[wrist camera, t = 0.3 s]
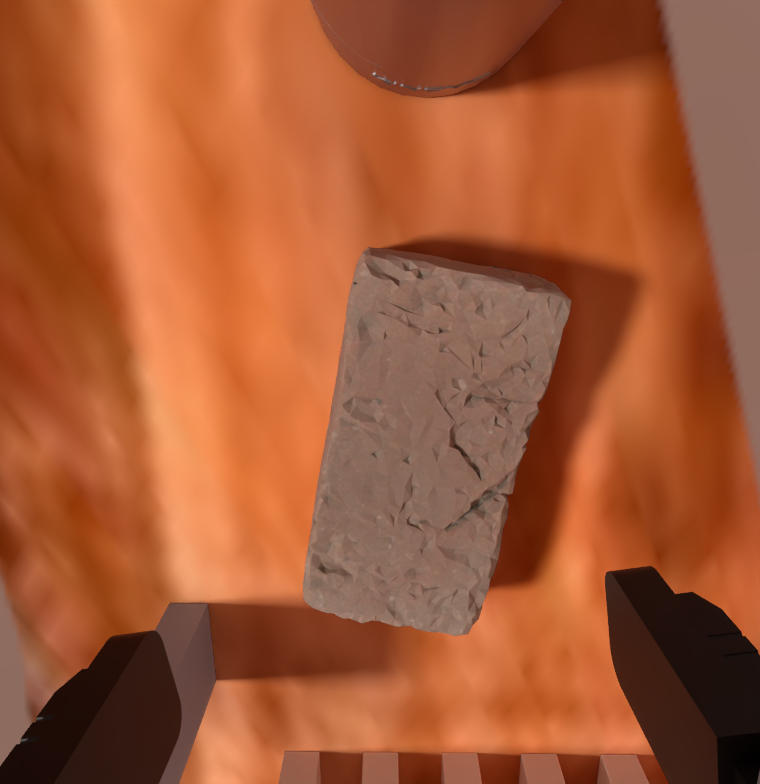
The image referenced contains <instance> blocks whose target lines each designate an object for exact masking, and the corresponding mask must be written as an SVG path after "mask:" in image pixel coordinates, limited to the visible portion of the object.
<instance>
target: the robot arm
mask: <svg viewBox="0 0 760 784" xmlns="http://www.w3.org/2000/svg"><path fill="white" fill-rule="evenodd" d="M311 1H312V4H313V6H314V9H315V11H316V13H317V16H318V18H319V21H320V23H321V25H322V28H323V30H324V32H325V34H326V35H327V37H328V38H329V40H330V41H331V43H332V44H333V46H334V48H335V49H336V51H337V52H338V54H339V55H340V56H341V57H342V58H343V59H344V60H345V61H346V62H347V63H348V64H349V65H350V66H351V67H352V68H353V69H354V70H355V71H356V72H357V73H358V74H360V75H361V76H363V77H365V78H366V79H368V80H369V81H371V82H372V83H374V84H376V85H377V86H379V87H381V88H384V89H387V90H390V91H392V92H395V93H398V94H401V95H406V96H415V97H424V98H430V97H438V96H446V95H452V94H455V93H458V92H461V91H463V90H466V89H469V88H472V87H474V86H476V85H478V84H479V83H481V82H483V81H484V80H486V79H487V78H489V77H490V76H492V75H494V74H495V73H497V72H498V71H499V70H500V69H501V68H502V67H503V66H504V65H505V64H506V63H507V62H508V61H509V60H510V59H511V58H512V57H513V56H514V55H515V54H516V53H517V52H518V51H519V50H520V49H521V48H522V47H523V45H524V44H525V43H526V42H527V41H528V40H529V39H530V37H531V36H532V35H533V34H534V33H535V32H536V31H537V30H538V29H539V28H540V27H541V26H542V24H543V23H544V22H545V21H546V20H547V19H548V17H549V16H550V15H551V14H552V13H553V12H554V10H555V9H556V8H557V7H558V6H559V5H560V3H561V2H562V1H563V0H311ZM605 588H606V600H607V613H608V625H609V637H610V649H611V655H612V660H613V665H614V668H615V672H616V675H617V678H618V681H619V684H620V686H621V688H622V690H623V692H624V694H625V696H626V698H627V700H628V702H629V704H630V706H631V708H632V710H633V712H634V714H635V716H636V718H637V720H638V722H639V724H640V726H641V728H642V730H643V732H644V734H645V736H646V738H647V740H648V742H649V744H650V746H651V748H652V750H653V752H654V754H655V756H656V758H657V760H658V762H659V764H660V766H661V768H662V770H663V772H664V774H665V776H666V778H667V780H668V782H669V784H760V656H759V654H758V650H757V649H756V648H755V647H754V646H753V645H752V643H751V642H750V641H749V640H748V639H747V638H746V637H745V636H742V633H741V631H740V630H739V629H738V627H737V626H736V625H735V624H734V623H733V622H732V620H731V619H730V618H729V617H728V616H727V615H726V614H725V612H724V611H723V610H722V609H720V608H719V607H717V606H715V605H714V604H712V603H710V602H709V601H707V600H705V599H703V598H702V597H700V596H698V595H697V594H695V593H693V592H688V593H680V594H674V592H673V591H672V590H671V588H670V587H669V586H668V585H667V583H666V582H665V581H664V579H663V578H662V577H661V576H660V574H659V573H658V572H657V570H656V569H655V568H654V567H652V566H647V567H639V568H631V569H624V570H616V571H609V572H607V573H606V576H605ZM36 718H37V720H36V722H34V723H32V724H31V725H30V727H29V728H28V730H27V731H26V732H25V734H24V735H23V736H22V738H21V742H20V744H17V745H16V746H15V747H14V749H13V750H12V751H11V752H10V754H9V755H8V757H7V758H6V759H5V761H4V762H3V763H2V765H1V766H0V784H159V783H160V780H161V778H162V776H163V773H164V771H165V769H166V766H167V764H168V762H169V759H170V757H171V755H172V752H173V750H174V748H175V745H176V743H177V740H178V738H179V734H180V729H181V722H182V709H181V701H180V697H179V694H178V691H177V687H176V684H175V680H174V677H173V674H172V670H171V667H170V664H169V660H168V657H167V653H166V650H165V647H164V643H163V640H162V638H161V636H160V634H159V633H158V632H156V631H145V632H138V633H130V634H123V635H115V636H112V637H111V638H109V639H108V641H107V642H106V643H105V645H104V646H103V647H102V649H101V650H100V652H99V653H98V654H97V656H96V657H95V659H94V660H93V662H92V663H91V664H90V666H89V667H88V669H82V670H81V671H80V672H78V673H77V674H76V675H75V676H74V677H72V678H71V679H70V680H69V681H68V682H67V683H65V684H64V685H63V686H62V687H61V688H59V689H58V690H57V691H56V692H55V693H54V694H53V696H52V697H51V698H50V700H49V701H48V702H47V704H46V705H45V706H44V708H43V709H42V711H41V712H40V713H39V715H38V716H37V717H36Z"/></svg>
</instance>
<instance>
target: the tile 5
mask: <svg viewBox="0 0 760 784" xmlns="http://www.w3.org/2000/svg"><path fill="white" fill-rule="evenodd" d="M519 784H565V781H564V777H563V774H562V770H561V767H560V764H559V760H558V757H557V754H522V753H521V762H520V774H519Z"/></svg>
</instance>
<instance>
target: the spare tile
mask: <svg viewBox="0 0 760 784" xmlns="http://www.w3.org/2000/svg"><path fill="white" fill-rule="evenodd" d="M155 631H156V632H158V633H159V634H160V636H161V638H162V640H163V643H164V647H165V650H166V653H167V657H168V660H169V664H170V667H171V670H172V674H173V677H174V680H175V684H176V687H177V691H178V694H179V697H180V701H181V709H182V722H181V729H180V734H179V738H178V740H177V743H176V745H175V748H174V750H173V752H172V755H171V757H170V759H169V762H168V764H167V766H166V769H165V771H164V773H163V776H162V778H161V780H160V783H159V784H179V782H180V779H181V777H182V774H183V771H184V768H185V766H186V763H187V760H188V757H189V755H190V752H191V749H192V746H193V743H194V741H195V738H196V735H197V732H198V730H199V727H200V724H201V721H202V718H203V716H204V713H205V710H206V707H207V705H208V702H209V699H210V696H211V693H212V691H213V688H214V685H215V682H216V674H215V665H214V656H213V647H212V638H211V628H210V619H209V610H208V603H170V604H169V605H168V607H167V609H166V611H165V613H164V615H163V616H162V618H161V620H160V622H159V624H158V626H157V628H156V629H155Z"/></svg>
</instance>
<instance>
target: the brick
mask: <svg viewBox="0 0 760 784" xmlns="http://www.w3.org/2000/svg"><path fill="white" fill-rule="evenodd" d="M570 307H571V300H570V299H569V298H568V297H567V296H566V295H565V294H564V293H563V292H562V291H561V290H560V288H559V287H558V286H557V285H556V284H555V283H553V282H550V281H547V280H546V279H545V278H542V277H539V276H537V275H534V274H529V273H522V272H518V271H514V270H510V269H505V268H499V267H494V266H482V265H476V264H470V263H465V262H462V261H454V260H450V259H446V258H443V257H440V256H433V255H426V254H420V253H415V252H406V251H397V250H393V249H387V248H379V249H378V248H370V247H368V248H367V249H366V250H365V251H364V252H363V253H362V255H361V257H360V258H359V260H358V263H357V265H356V269H355V273H354V278H353V282H352V286H351V290H350V293H349V298H348V303H347V313H346V322H345V328H344V335H343V341H342V347H341V353H340V358H339V365H338V372H337V378H336V384H335V389H334V395H333V401H332V407H331V415H330V421H329V426H328V430H327V435H326V440H325V447H324V451H323V456H322V462H321V467H320V473H319V479H318V485H317V492H316V498H315V505H314V513H313V519H312V528H311V534H310V540H309V545H308V551H307V557H306V564H305V574H304V581H303V599H304V600H305V602H306V603H307V604H308V605H309V606H310V607H312V608H314V609H317V610H319V611H322V612H325V613H334V614H335V615H337V616H339V617H341V618H343V619H345V618H350V619H352V620H355V621H357V622H360V623H365V622H369V621H372V620H373V621H380V622H383V623H386V624H389V625H392V626H398V627H400V626H412V627H414V628H415V629H417V630H422V631H427V632H441V633H446V634H450V635H453V636H457V635H465V634H468V633H469V631H470V629H471V628H472V625H473V624H474V623H475V622H476V621H477V620H478V619H479V616H480V613H481V610H482V604H483V602H484V599H485V597H486V594H487V592H488V590H489V585H490V580H491V578H492V576H493V574H494V571H495V568H496V565H497V562H498V558H499V553H500V548H501V541H502V533H503V527H504V525H505V522H506V520H507V517H508V500H507V495H511V494H512V493H513V490H514V485H515V477H516V473H517V470H518V466H519V464H520V462H521V459H522V457H523V454H524V452H525V450H526V449H527V448H526V446H525V445H526V443H527V441H528V439H529V435H530V429H531V425H532V424H533V422H534V420H535V419H536V417H537V415H538V413H539V407H538V403H539V402H540V401H541V400H542V398H543V396H544V395H545V393H546V390H547V387H548V383H549V380H550V377H551V374H552V371H553V368H554V365H555V361H556V357H557V354H558V350H559V346H560V341H561V337H562V332H563V328H564V327H565V325H566V323H567V321H568V317H569V313H570Z"/></svg>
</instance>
